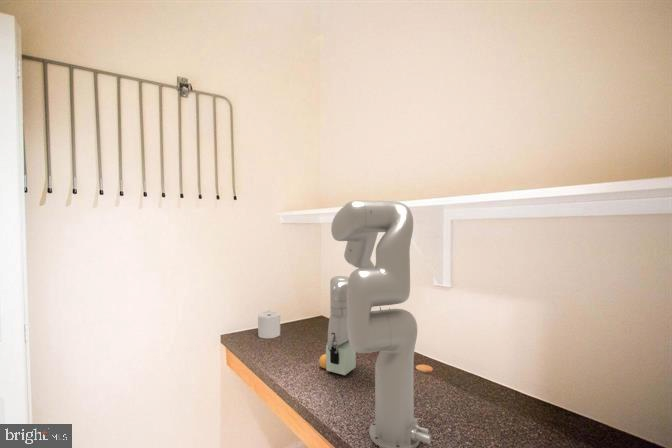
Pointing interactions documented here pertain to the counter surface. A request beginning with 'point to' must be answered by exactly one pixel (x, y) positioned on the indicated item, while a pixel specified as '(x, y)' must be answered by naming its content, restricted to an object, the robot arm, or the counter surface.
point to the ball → (323, 361)
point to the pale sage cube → (342, 359)
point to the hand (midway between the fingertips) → (340, 359)
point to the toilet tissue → (269, 324)
